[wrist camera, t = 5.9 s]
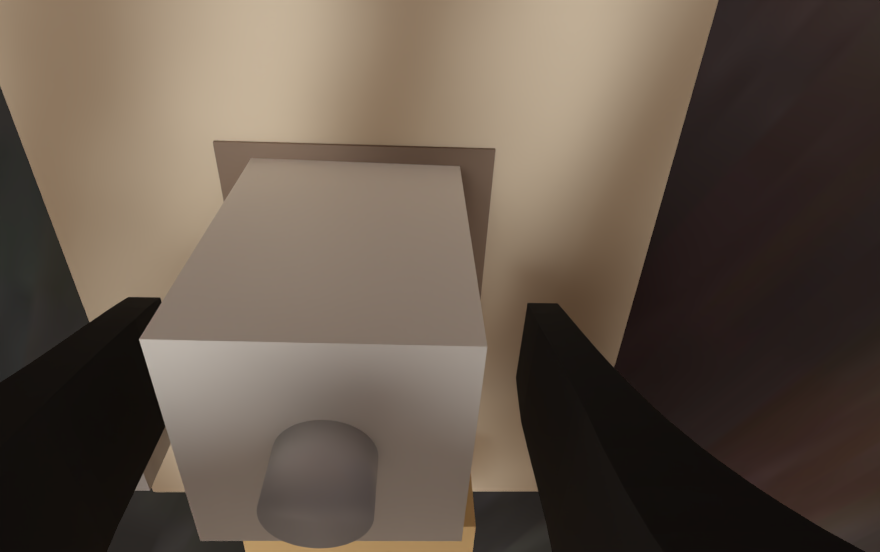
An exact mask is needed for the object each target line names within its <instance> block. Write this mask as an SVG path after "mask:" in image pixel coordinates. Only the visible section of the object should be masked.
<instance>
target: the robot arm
mask: <svg viewBox="0 0 880 552" xmlns="http://www.w3.org/2000/svg"><path fill="white" fill-rule="evenodd" d="M161 303H162V302H161V298H160V297H128V298H126V299H124V300H123V301H121V302H119V303H118V304H116V305H115V306H113V307H112V308H110V309H109V310H107V311H106V312H104V313H103V314H101V315H100V316H98V317H97V318H95V319H94V320H92V321H91V322H90V323H88V324H87V325H85V326H84V327H82V328H81V329H80V330H78V331H77V332H75V333H74V334H72V335H71V336H70V337H68V338H67V339H65V340H64V341H62V342H61V343H59V344H58V345H56V346H55V347H54V348H52V349H51V350H49V351H48V352H46V353H45V354H43V355H42V356H40V357H39V358H38V359H36V360H35V361H33V362H32V363H30V364H29V365H27V366H25V367H24V368H22V369H21V370H19V371H18V372H16V373H14V374H13V375H11V376H10V377H8V378H7V379H5V380H3V381H2V382H0V552H107V550H108V547H109V545H110V543H111V540H112V538H113V536H114V533H115V531H116V529H117V526H118V524H119V522H120V520H121V518H122V516H123V514H124V512H125V510H126V508H127V506H128V504H129V501H130V499H131V497H132V495H133V493H134V491H135V489H136V487H137V485H138V483H139V481H140V479H141V477H142V475H143V473H144V470H145V468H146V466H147V464H148V462H149V460H150V458H151V456H152V454H153V452H154V450H155V447H156V445H157V443H158V441H159V439H160V437H161V435H162V433H163V430H164V428H165V423H164V420H163V417H162V413H161V410H160V407H159V403H158V400H157V397H156V394H155V390H154V387H153V384H152V380H151V377H150V374H149V371H148V367H147V364H146V361H145V358H144V354H143V351H142V348H141V344H140V341H139V338H140V337H141V335H142V334H143V332H144V330H145V329H146V327H147V325H148V324H149V322H150V321H151V319H152V317H153V316H154V314H155V313H156V311H157V309H158V308H159V306H160V304H161ZM516 385H517V394H518V402H519V410H520V418H521V424H522V428H523V432H524V436H525V440H526V445H527V449H528V453H529V457H530V461H531V465H532V469H533V472H534V476H535V480H536V484H537V488H538V492H539V496H540V500H541V504H542V508H543V512H544V516H545V520H546V524H547V529H548V533H549V538H550V543H551V548H552V552H865V551H863V550H861V549H859V548H857V547H855V546H854V545H852V544H850V543H848V542H846V541H844V540H843V539H841V538H839V537H837V536H835V535H833V534H831V533H830V532H828V531H826V530H824V529H823V528H821V527H819V526H818V525H816V524H814V523H813V522H811V521H809V520H808V519H806V518H804V517H803V516H801V515H800V514H798V513H796V512H795V511H793V510H791V509H790V508H788V507H787V506H785V505H783V504H782V503H780V502H778V501H777V500H775V499H774V498H772V497H771V496H769V495H768V494H766V493H765V492H763V491H762V490H760V489H759V488H757V487H756V486H754V485H753V484H751V483H750V482H748V481H747V480H745V479H744V478H743V477H741V476H740V475H738V474H737V473H736V472H734V471H733V470H731V469H730V468H729V467H727V466H726V465H724V464H723V463H721V462H720V461H719V460H717V459H716V458H715V457H713V456H712V455H711V454H709V453H708V452H707V451H705V450H704V449H703V448H701V447H700V446H699V445H698V444H696V443H695V442H694V441H693V440H692V439H690V438H689V437H688V436H687V435H686V434H684V433H683V432H682V431H681V430H679V429H678V428H677V427H676V426H675V425H673V424H672V423H671V422H670V421H669V420H667V419H666V418H665V417H664V416H663V415H662V414H661V413H660V412H658V411H657V410H656V409H655V408H654V407H653V406H652V405H651V404H650V403H649V402H648V401H647V400H646V399H645V398H643V397H642V396H641V395H640V394H639V393H638V392H637V391H636V390H635V389H634V388H633V387H632V386H631V385H630V384H629V383H628V382H627V381H626V380H625V379H624V378H623V377H622V376H621V375H620V374H619V372H618V371H617V370H616V369H615V368H614V367H613V366H612V365H611V364H610V363H609V362H608V361H607V360H606V359H605V357H604V356H603V355H602V354H601V353H600V352H599V351H598V350H597V349H596V347H595V346H594V345H593V344H592V343H591V342H590V340H589V339H588V338H587V337H586V336H585V335H584V333H583V332H582V331H581V330H580V329H579V328H578V326H577V325H576V324H575V323H574V322H573V320H572V319H571V318H570V317H569V316H568V315H567V313H566V312H565V311H564V310H563V309H562V308H561V307H560V305H559V304H558V303H527V309H526V316H525V322H524V328H523V335H522V341H521V347H520V354H519V360H518V366H517V373H516Z"/></svg>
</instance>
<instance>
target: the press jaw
mask: <svg viewBox="0 0 880 552" xmlns="http://www.w3.org/2000/svg"><path fill="white" fill-rule="evenodd" d="M475 528H476V525H475V514H474V503H473V492H472V481H471V474H470V481H469V489H468V496H467V504H466V511H465V519H464V526H463V534H462V541H354V542H351V543H349V544H346V545H342V546H338V547H332V548H307V547H301V546H296V545H292V544H289V543H286V542H284V541H243V543H244V547H245V551H246V552H472V551H473V543H474V536H475Z"/></svg>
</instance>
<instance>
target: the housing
mask: <svg viewBox="0 0 880 552" xmlns="http://www.w3.org/2000/svg"><path fill="white" fill-rule="evenodd" d="M139 341H140V344H141V348H142V351H143V354H144V358H145V361H146V364H147V367H148V371H149V374H150V377H151V380H152V384H153V387H154V390H155V394H156V397H157V400H158V403H159V407H160V410H161V413H162V417H163V420H164V423H165V426H166V430H167V433H168V436H169V439H170V443H171V446H172V449H173V453H174V456H175V459H176V462H177V466H178V469H179V472H180V476H181V479H182V482H183V485H184V489H185V492H186V495H187V498H188V502H189V505H190V508H191V512H192V515H193V518H194V521H195V525H196V528H197V531H198V535H199V538H200V541H284V542H286V543H289V544H292V545H296V546H301V547H307V548H332V547H338V546H342V545H346V544H349V543H351V542H354V541H462V534H463V526H464V519H465V511H466V504H467V496H468V489H469V481H470V474H471V466H472V459H473V451H474V444H475V436H476V429H477V421H478V414H479V406H480V399H481V391H482V384H483V376H484V369H485V361H486V354H487V340H486V334H485V327H484V321H483V314H482V308H481V301H480V295H479V288H478V282H477V275H476V269H475V262H474V255H473V249H472V242H471V236H470V229H469V223H468V216H467V210H466V203H465V197H464V190H463V183H462V177H461V170H460V166H441V165H416V164H391V163H365V162H340V161H315V160H290V159H264V158H251V159H250V161H249V162H248V164H247V165H246V167H245V169H244V170H243V172H242V173H241V175H240V177H239V178H238V180H237V182H236V183H235V185H234V186H233V188H232V190H231V191H230V193H229V194H228V196H227V198H226V199H225V201H224V203H223V204H222V206H221V207H220V209H219V211H218V212H217V214H216V216H215V217H214V219H213V220H212V222H211V224H210V225H209V227H208V228H207V230H206V232H205V233H204V235H203V237H202V238H201V240H200V241H199V243H198V245H197V246H196V248H195V249H194V251H193V253H192V254H191V256H190V258H189V259H188V261H187V262H186V264H185V266H184V267H183V269H182V270H181V272H180V274H179V275H178V277H177V279H176V280H175V282H174V283H173V285H172V287H171V288H170V290H169V292H168V293H167V295H166V296H165V298H164V300H163V301H162V303H161V304H160V306H159V308H158V309H157V311H156V313H155V314H154V316H153V317H152V319H151V321H150V322H149V324H148V325H147V327H146V329H145V330H144V332H143V334H142V335H141V337H140V338H139Z"/></svg>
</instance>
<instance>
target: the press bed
mask: <svg viewBox="0 0 880 552" xmlns="http://www.w3.org/2000/svg"><path fill="white" fill-rule="evenodd" d="M717 3H718V0H0V86H1V89H2V91H3V94H4V97H5V99H6V102H7V105H8V107H9V110H10V113H11V115H12V118H13V121H14V123H15V126H16V128H17V131H18V134H19V136H20V139H21V142H22V144H23V147H24V150H25V152H26V155H27V158H28V160H29V163H30V166H31V168H32V171H33V174H34V176H35V179H36V181H37V184H38V187H39V189H40V192H41V195H42V197H43V200H44V203H45V205H46V208H47V211H48V213H49V216H50V219H51V221H52V224H53V227H54V229H55V232H56V235H57V237H58V240H59V242H60V245H61V248H62V250H63V253H64V256H65V258H66V261H67V264H68V266H69V269H70V272H71V274H72V277H73V280H74V282H75V285H76V288H77V290H78V293H79V295H80V298H81V301H82V303H83V306H84V309H85V311H86V314H87V317H88V319H89V322H91V321H92V320H94V319H95V318H97V317H98V316H100V315H101V314H103V313H104V312H106V311H107V310H109V309H110V308H112V307H113V306H115V305H116V304H118V303H119V302H121V301H123V300H124V299H126V298H128V297H160V298H161V302H162V301H163V300H164V298H165V296H166V295H167V293H168V292H169V290H170V288H171V287H172V285H173V283H174V282H175V280H176V279H177V277H178V275H179V274H180V272H181V270H182V269H183V267H184V266H185V264H186V262H187V261H188V259H189V258H190V256H191V254H192V253H193V251H194V249H195V248H196V246H197V245H198V243H199V241H200V240H201V238H202V237H203V235H204V233H205V232H206V230H207V228H208V227H209V225H210V224H211V222H212V220H213V219H214V217H215V216H216V214H217V212H218V211H219V209H220V207H221V206H222V204H223V203H224V201H225V199H226V198H227V196H228V194H229V193H230V191H231V190H232V188H233V186H234V185H235V183H236V182H237V180H238V178H239V177H240V175H241V173H242V172H243V170H244V169H245V167H246V165H247V164H248V162H249V161H250V159H251V158H264V159H290V160H315V161H340V162H365V163H391V164H416V165H441V166H460V170H461V177H462V183H463V190H464V197H465V203H466V210H467V216H468V223H469V229H470V236H471V242H472V249H473V255H474V262H475V269H476V275H477V282H478V288H479V295H480V301H481V308H482V314H483V321H484V327H485V334H486V340H487V354H486V361H485V369H484V376H483V384H482V391H481V399H480V406H479V414H478V421H477V429H476V436H475V444H474V451H473V459H472V466H471V481H472V491H538V488H537V484H536V480H535V476H534V472H533V469H532V465H531V461H530V457H529V453H528V449H527V445H526V440H525V436H524V432H523V428H522V424H521V418H520V410H519V402H518V394H517V385H516V373H517V366H518V360H519V354H520V347H521V341H522V335H523V328H524V322H525V316H526V309H527V303H558V304H559V305H560V307H561V308H562V309H563V310H564V311H565V312H566V313H567V315H568V316H569V317H570V318H571V319H572V320H573V322H574V323H575V324H576V325H577V326H578V328H579V329H580V330H581V331H582V332H583V333H584V335H585V336H586V337H587V338H588V339H589V340H590V342H591V343H592V344H593V345H594V346H595V347H596V349H597V350H598V351H599V352H600V353H601V354H602V355H603V356H604V357H605V359H606V360H607V361H608V362H609V363H610V364H611V365H612V366H613V367H614V366H615V363H616V359H617V356H618V352H619V349H620V345H621V342H622V338H623V335H624V331H625V328H626V324H627V321H628V317H629V314H630V310H631V306H632V303H633V299H634V296H635V292H636V289H637V285H638V282H639V278H640V275H641V271H642V268H643V264H644V261H645V257H646V254H647V250H648V247H649V243H650V240H651V236H652V232H653V229H654V225H655V222H656V218H657V215H658V211H659V208H660V204H661V201H662V197H663V194H664V190H665V187H666V183H667V180H668V176H669V173H670V169H671V166H672V162H673V158H674V155H675V151H676V148H677V144H678V141H679V137H680V134H681V130H682V127H683V123H684V120H685V116H686V113H687V109H688V106H689V102H690V99H691V95H692V91H693V88H694V84H695V81H696V77H697V74H698V70H699V67H700V63H701V60H702V56H703V53H704V49H705V46H706V42H707V39H708V35H709V32H710V28H711V25H712V21H713V17H714V14H715V10H716V7H717ZM151 487H152V489H153V492H185V489H184V485H183V482H182V479H181V476H180V472H179V469H178V466H177V462H176V459H175V456H174V453H173V449H172V446H171V443H170V439H169V436H168V433H167V430H166V426H165V428H164V430H163V433H162V435H161V437H160V439H159V441H158V443H157V445H156V447H155V450H154V452H153V454H152V456H151V458H150V460H149V462H148V464H147V466H146V468H145V470H144V473H143V475H142V477H141V479H140V481H139V483H138V485H137V487H136V489H135V490H150V489H151Z"/></svg>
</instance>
